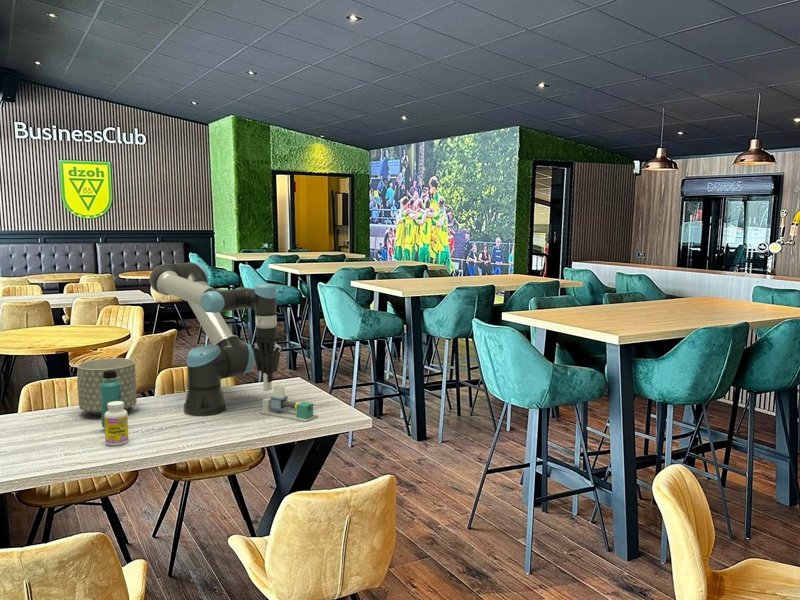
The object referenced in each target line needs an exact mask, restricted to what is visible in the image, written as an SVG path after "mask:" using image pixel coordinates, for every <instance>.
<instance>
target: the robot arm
mask: <svg viewBox="0 0 800 600" xmlns="http://www.w3.org/2000/svg"><path fill="white" fill-rule="evenodd" d="M209 282H210V277H209V272H208V270H207V268H206V266H204V265H203V264H201V263H199V262H192V261H189V262H179V263H178V262H177V263H163V264H159V265H157V266H156V267H155V268H153V270H152V271H151V272H150V274H149V284H150V287H151V288H152V290H154V291H155V292H156V293H158V294H161V295H163V296H174V297H177V298H179V299H181V300H182V301H185V302H188V305H189V307H190V308H191V310H192V312H193V313H194V315H195V317H196V318H197V321H198V323H199V324H200V326H201V328H202V329H203V331H204V333H205V334H206V336H207V338H208V339H209V341H210V344H206V345H200V346H197V347H194V348H192V349H190V350H189V351H188V353H187V358H186V365H187V368H186V370H187V392H186V393H187V394H186V397H185V401H184V403H183V413H184V414H186V415H188V416H189V415H190V416H199V417H200V416H211V415H212V416H213V415H217V414H220V413H222V412H223V413H224V412H225V411H226V410H227V401H226V400H225V397H224V394H223V390H222V380H223V379H229V378H231V377H237V376H242V375H246V374H248V373H250V372H251V371H252V370H253V368H254V366H255V365H256V369H257V371H258V372H260V373H261V381H262V382H263V392H269V391H272V390H273V389H272V382H273V380H274V379H273V378H274V377H273V376H274V375H273V373H274V372H277V371H278V368H279V362H280V357H281V352H282V350H283V346H281V345H279V344H278V342H277V337H278V327H277V325H278V321H277V319H278V316H277V297H278V296H277V288H276V285H275V284H273V283H257V284H255V286H254V288H252V287H251V288H250V287H243V286H242V287H237V288H234V289H225V290H224V289H223V290H222V289H217V288H214V287H212V286H209ZM245 309H247V310H248V309H250V310H254V311H255V314H254V315H255V326H256V328H255V337H256V342H255V343H253V344H250V343H246V342H242V340H241V338H240V337H239V336H238V335H234V334H233V333H232V331H231V329H230V328H229V326H228V324H227V323H226V320H225V319H224V318H223V316H222V314H221V312H228V311H229V312H230V311H236V310H237V311H238V310H245Z"/></svg>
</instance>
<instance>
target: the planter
mask: <svg viewBox="0 0 800 600" xmlns="http://www.w3.org/2000/svg"><path fill="white" fill-rule="evenodd" d="M76 366H77V385H78V389H77V390H78V407H79V409H80V410H82V411H84V412H88V413H90V414H92V415H96V416H102V414H101V388H100V385H101V384H102V383H103V382H104V381H106V380H117V381H118V382H120V384H121V385H120V389H121V401H122V402H124V407H123V409H124V410H126V411H127V409H129V408H131V407H133V406H135V405H136V404H137V381H136V380H137V377H136V361H135V360H134V359H130V358H124V357H114V358H113V357H112V358H110V357H108V358H97V359H90V360H86V361H83V362H80V363H78V364H77V365H76ZM109 370H114V371H116V374H117V377H116V378H111V379H105V378H103V373H104V372H105V371H109Z"/></svg>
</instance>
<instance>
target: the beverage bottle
mask: <svg viewBox="0 0 800 600" xmlns="http://www.w3.org/2000/svg"><path fill="white" fill-rule="evenodd" d="M116 377H117V374H116V371H114V370H109V371H105V372H104V373H103V378H105V379H111V378H116ZM120 385H121V384H120V382H118V381H117V380H106V381H104V382H103V383H102V384H101V385H100V388H101V414H102V415H100V417H101V421H100V422H101V426H102V427H101V428H104V429H105V418H104V415H105V413H106V412H107V411H108V406H107V404H108V403H110V402H114V401H121V389H120Z"/></svg>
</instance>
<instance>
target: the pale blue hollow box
mask: <svg viewBox="0 0 800 600" xmlns="http://www.w3.org/2000/svg"><path fill="white" fill-rule="evenodd" d="M273 396H274V397H272V396H270V397H271V410H274V411H282V410H288V408H289V407H283V406H281V401H287V402H289V400H288V399H289V398H288V397H289V396H288V395H285V386H284V385H278V384H275V385H273Z"/></svg>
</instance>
